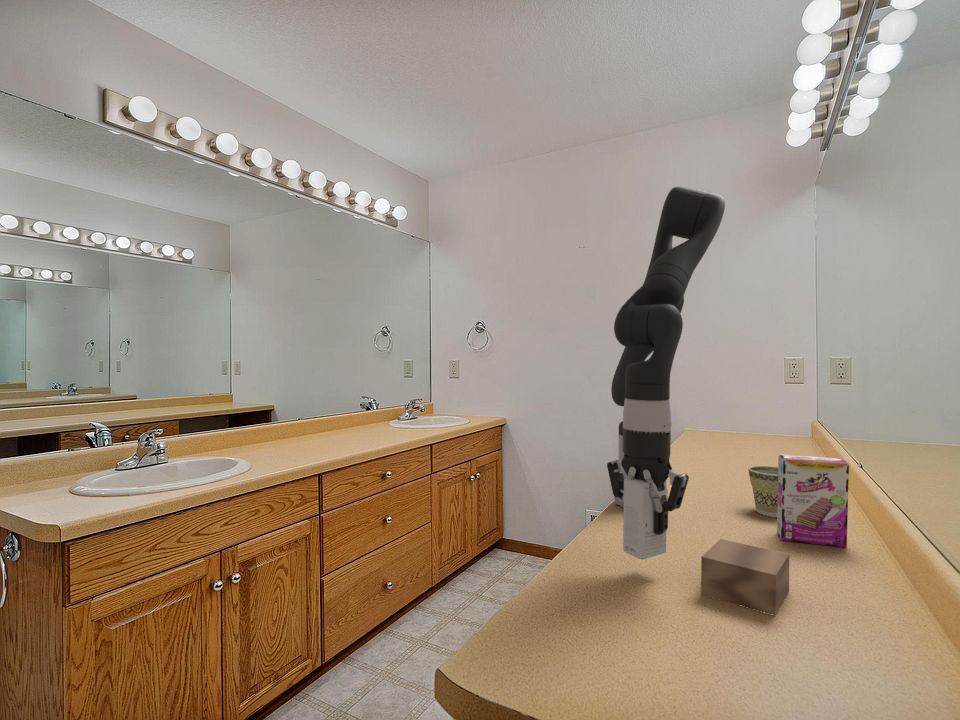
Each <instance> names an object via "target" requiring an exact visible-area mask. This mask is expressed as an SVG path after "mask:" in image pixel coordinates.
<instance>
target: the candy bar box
mask: <svg viewBox="0 0 960 720" xmlns="http://www.w3.org/2000/svg"><path fill="white" fill-rule="evenodd" d="M777 467H778V503H777V518H776V533H777V535H778V536H779V538H780V540H781V541H787V542H796V543H803V544H804V543H805V544H813V545H820V546H830V547H841V548H847V546H848V520H849V519H848V517H849V516H848V515H849V514H848V513H849V481H850V480H849V477H850V463H849V462H847V461H845V460H843V459H842V458H836V457H835V458H834V457H826V456H825V457H822V456H808V455H807V456H806V455H793V454H778V465H777Z"/></svg>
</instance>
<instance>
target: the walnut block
mask: <svg viewBox="0 0 960 720" xmlns="http://www.w3.org/2000/svg"><path fill="white" fill-rule="evenodd" d="M700 568H701V569H700V571H701V572H700V573H701V575H700V577H701V580H700V581H701V582H700V586H701V587H700V589H701V590H700V592H701V593H700V594H701V595H702V596H705V595H706V596H705V597H708V596H710V597H709V598H711V597H714V598H713V599H715V598H717V599H716V600H718V599H720V600H719V601H722V600H723V601H722V602H725V601H726V603H728V602H730V603H729V604H732V603H733V604H732V605H735V604H736V606H739V605H742V606H745V607H748V608H747V609H749V608H751V609H750V610H752V609H755V610H754V611H756V610H758V611H757V612H759V611H762V612H765V613H764V614H766V613H769V614H773V615H776V614H778V613H779V611H780V609H781V607H782V605H783V604H784V602H783V601H785V600H786V598H787V595H789V592H790V554H789V553H786V552H782V551H777V550H773V549H767V548H765V547H763V548H762V547H758V546H754V545H749V544H745V543H741V542H735V541H731V540H727V539H723V538H720V539H718V541H716V542H715V543H714V544H713V545H712V546H711V547H710V548H709V549H708V550H707V551H705V553H704V554H702V556H701V567H700ZM784 599H785V600H784ZM742 606H741V607H742ZM745 607H744V608H745ZM779 608H780V609H779ZM778 610H779V611H778ZM762 612H761V613H762ZM777 612H778V613H777ZM769 614H768V615H769ZM773 615H772V616H773ZM776 616H777V615H776Z"/></svg>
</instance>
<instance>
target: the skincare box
mask: <svg viewBox="0 0 960 720" xmlns="http://www.w3.org/2000/svg"><path fill="white" fill-rule="evenodd" d="M665 483H666V484H667V480H666V481H665ZM661 487H662V486H661ZM661 487H659V488H657V490H658V491H659V490H660V489H661ZM655 511H656V508H655V505H654V501H653V498H651V496H650V493H649V484H648V483H647V482H646V481H642V480H638V479H635V480H633V479H624V513H623V514H622V515H624V516H623V517H622V518H623V519H622V520H623V525H622V527H623V528H622V529H623V531H622V532H623V533H622V549H623V552H625V553H626V554H628V555H630V556H633V557H635V558H638V559H640V560H646V559H649V558H653V557H656V556H659V555H663V554H665V553H666V552H667V530H666V531H665V532H664V533H663V534H661V535H657V534H655V533H654V512H655Z"/></svg>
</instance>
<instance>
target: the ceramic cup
mask: <svg viewBox="0 0 960 720" xmlns="http://www.w3.org/2000/svg"><path fill="white" fill-rule="evenodd" d="M748 477H749V480H750V484H751V488H752V492H753V497H754V498H753V499H754V504H755V510H757V511H756V513H757V512H758V513H760V514H759V515H761V514H763V515H762V516H765V515H766V516H765V517H768V516H772V517H771V518H776V517H777V503H778V466H772V465H771V466H770V465H753V466H749V467H748ZM758 513H757V514H758Z"/></svg>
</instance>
